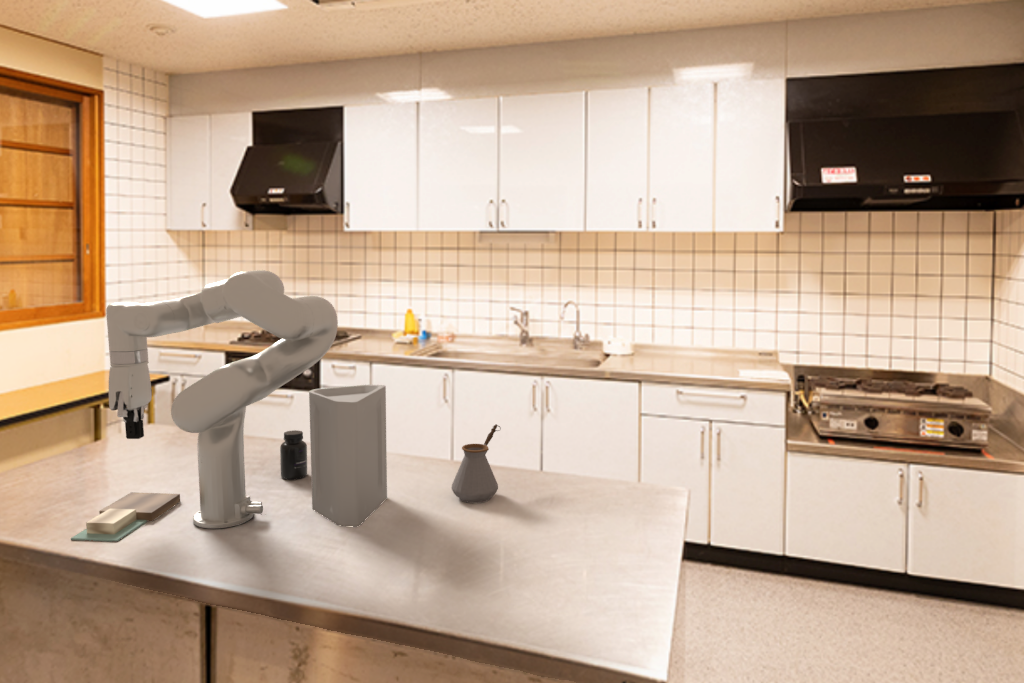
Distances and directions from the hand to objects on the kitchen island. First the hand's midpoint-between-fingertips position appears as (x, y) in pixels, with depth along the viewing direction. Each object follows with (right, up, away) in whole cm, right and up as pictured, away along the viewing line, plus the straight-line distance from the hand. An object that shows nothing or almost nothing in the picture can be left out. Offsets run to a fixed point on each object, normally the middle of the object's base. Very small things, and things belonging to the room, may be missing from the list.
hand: (135, 437), depth 160 cm
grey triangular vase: (+46, -18, +6) cm, 49 cm away
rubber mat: (-1, -19, -8) cm, 21 cm away
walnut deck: (0, -17, +3) cm, 18 cm away
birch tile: (-1, -18, -7) cm, 20 cm away
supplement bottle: (+27, -14, +29) cm, 42 cm away
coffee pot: (+78, -16, +19) cm, 82 cm away
